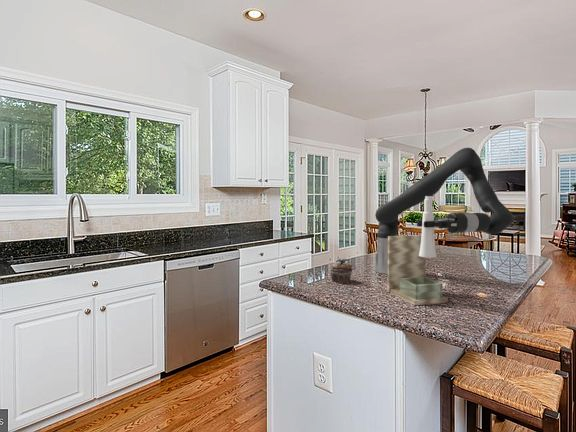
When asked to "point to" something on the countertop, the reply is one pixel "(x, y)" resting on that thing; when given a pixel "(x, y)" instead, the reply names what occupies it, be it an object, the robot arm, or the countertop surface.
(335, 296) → the countertop surface
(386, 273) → the robot arm
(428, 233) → the cosmetic bottle
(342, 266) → the cupcake
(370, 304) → the countertop surface
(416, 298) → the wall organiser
